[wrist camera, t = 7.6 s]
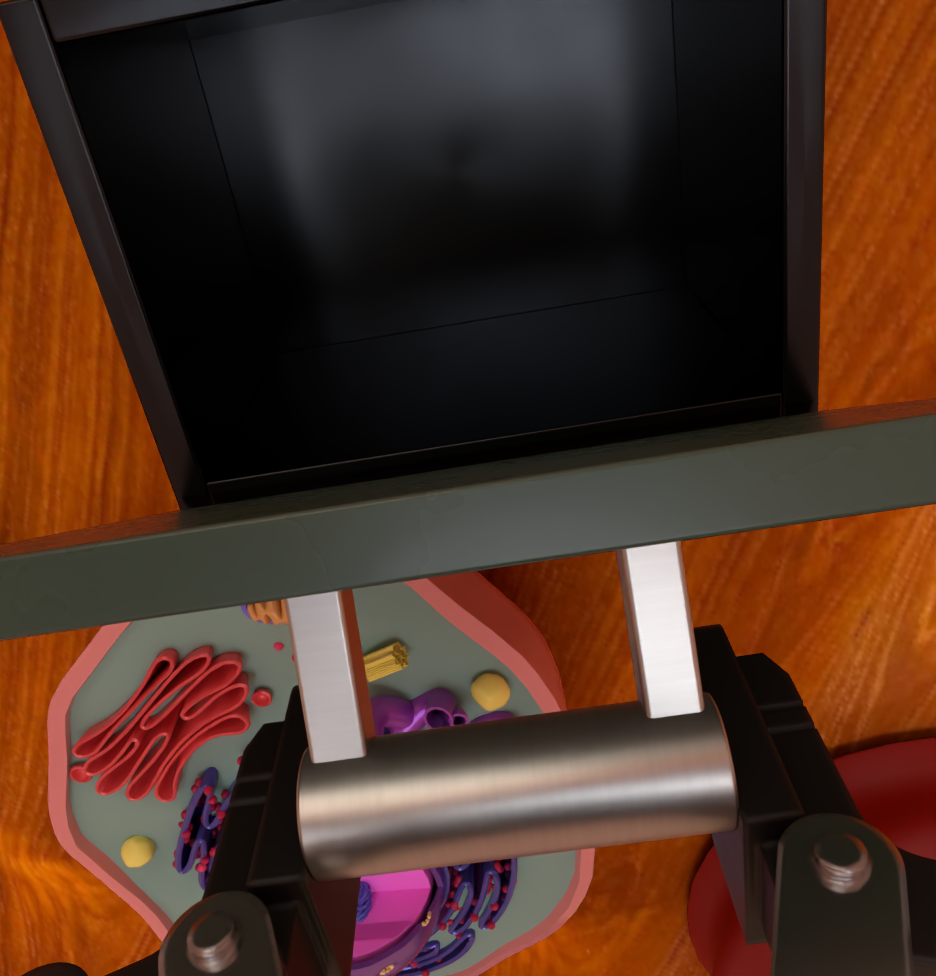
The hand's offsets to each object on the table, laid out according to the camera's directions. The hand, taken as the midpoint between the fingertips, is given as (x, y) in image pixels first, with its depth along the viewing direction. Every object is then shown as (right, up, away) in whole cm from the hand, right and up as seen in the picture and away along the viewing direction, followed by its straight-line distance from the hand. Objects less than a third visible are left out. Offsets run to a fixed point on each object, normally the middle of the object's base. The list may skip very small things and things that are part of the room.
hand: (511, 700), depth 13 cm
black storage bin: (-1, +13, +13) cm, 18 cm away
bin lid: (0, +4, 0) cm, 4 cm away
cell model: (-5, -3, +21) cm, 22 cm away
